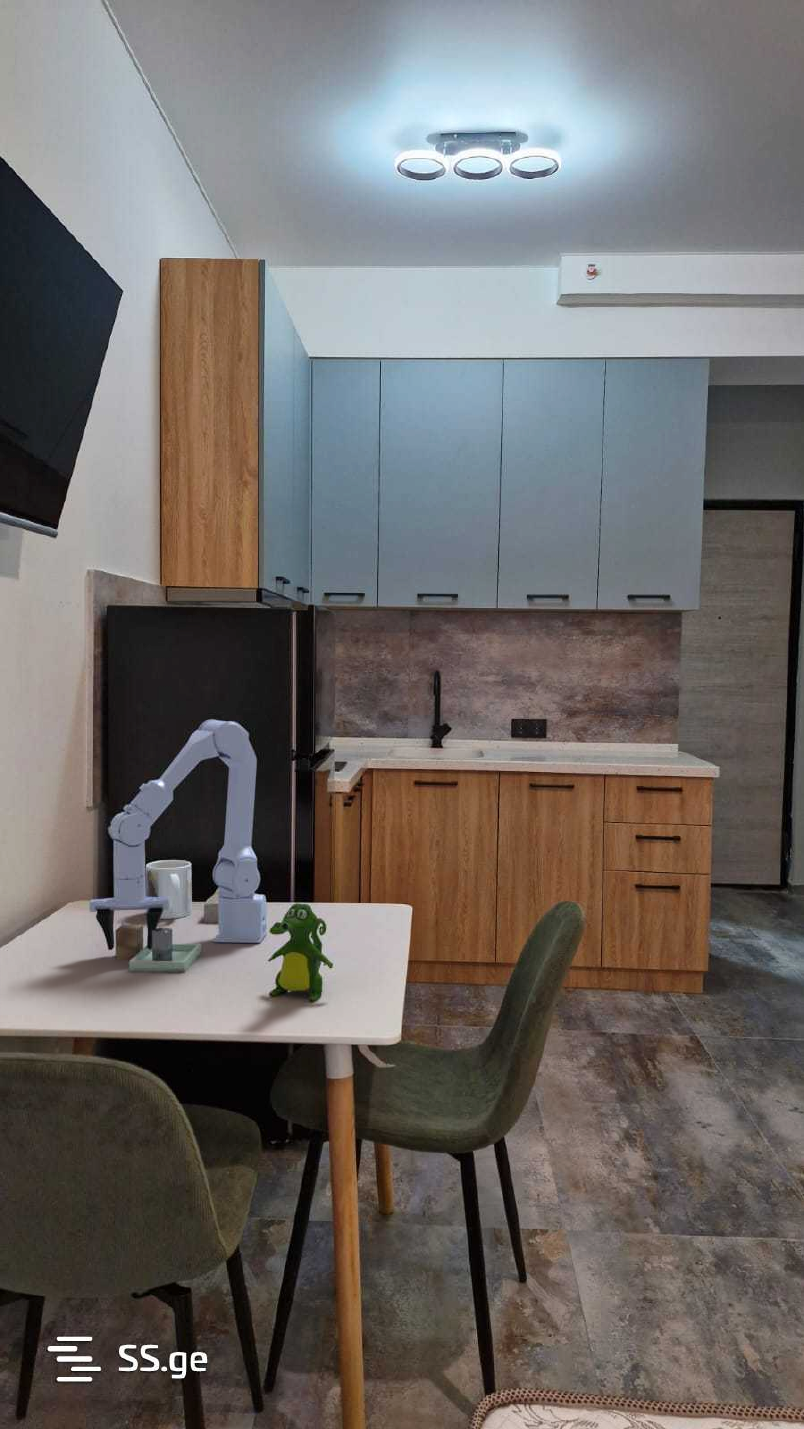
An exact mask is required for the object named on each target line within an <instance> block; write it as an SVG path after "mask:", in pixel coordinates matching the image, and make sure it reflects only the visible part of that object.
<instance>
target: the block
mask: <svg viewBox="0 0 804 1429" xmlns="http://www.w3.org/2000/svg"><path fill="white" fill-rule="evenodd" d="M114 935H115V960H131V959H133V958H134V957H135V956H136V955H137V954H138V953H139V952H140V951H141V950H142V949H143V948H144V924H121V925H120V926H119V927H117V928H116V929H115V932H114Z"/></svg>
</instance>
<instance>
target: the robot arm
mask: <svg viewBox="0 0 804 1429" xmlns="http://www.w3.org/2000/svg"><path fill="white" fill-rule="evenodd" d="M249 737H250V734H249V732H248V731H247V730H246V729H245V728H244V727H243V726H242V725H241V724H240V723H238V722H236V721H231V720H229V721H225V720H218V719H214V718H213V719H207V720H205V721H203V722H202V723H201V724H200V726H199V727H198V728H197V729H196V730H195V731H194V732H192V734H191V735H190V737H189V739H188V741H187V742H186V744H185V745H184V746H183V747H182V749H181V750H180V752H179V753H178V754H177V756H175V758H174V759H173V761H172V762H171V763H170V765H169V766H168V767H167V769H166V770H165V771H164V772H163V773H162V775H161V776H160V777H159V779H155V780H149V781H148V782H147V783H142V785H141V786H139V790H140V792H138V794H136V796H135V797H134V799H132V801H131V802H130V803H129V804H125V805H124V807H123V810H124V811H122V812H120V813H117V814H116V815H115V816H114V817H113V818H112V820H111V821H110V825H109V827H107V830H108V832H107V833H108V834H109V836H110V837H111V839H112V840H113V897H108V898H96V899H91V900H90V901H89V912H90V913H91V912H92V913H95V912H96V914H95V919H96V921H97V922H98V924H99V926H100V928H101V929H102V932H103V934H104V937H105V941H106V944H107V950H108V951H112V950H113V949H114V947H115V932H114V921H115V919H114V918H115V911H138V910H139V911H146V910H149V911H148V912H147V914H146V915H145V916H146V925H147V926H146V928H147V936H146V938H147V941H146V946H147V948H148V949H151V948H152V930H153V929H157V926H158V924H159V921H160V920H161V919H160V917H161V914H162V912H163V910H169V908H170V898H157V897H146V852H145V851H146V850H145V849H146V848H145V841H146V840H147V839H149V837H150V833H151V826H152V825H154V823H155V822H156V820H157V819H159V817H160V816H161V815H162V814H163V812H164V811H165V810H166V809H167V808H168V806H169V805H170V804H171V803H172V801H174V790H175V789H176V788H177V786H179V785H180V783H181V782H183V780H184V779H185V778H186V777H187V776H188V775H189V774H190V773H191V771H192V770H193V769H194V768H196V766H197V765H198V764H199V763H200V762H201V761H204V760H207V759H212V758H216V757H218V758H219V759H221V761H222V762H223V763H224V764H225V765H226V766H227V767H228V782H227V783H228V784H227V799H226V812H225V813H226V814H225V828H224V842H223V843H224V844H223V846H222V848H221V849H220V850H219V851H218V857H217V860H216V863H215V866H214V867H213V870H212V878H213V879H212V880H213V881H214V883H215V884H216V885H217V886H218V888H219V891H218V922H217V923H218V932H217V935H216V936H215V937H214V938H213V939H212V942H213V943H242V944H243V943H253V944H255V943H256V944H258V943H261V942H262V941H263V940H264V938H265V936H266V935H267V933H268V931H267V898H266V895H265V894H258V893H255V892H256V891H257V890H258V889H259V886H260V882H261V876H260V875H261V873H260V871H259V870H258V858H257V856H256V853H255V852H254V850H253V848H252V839H253V822H254V808H255V796H256V794H255V793H256V792H255V791H256V780H257V779H256V777H257V764H258V763H257V762H258V760H257V756H256V754H255V751H254V749H253V746H252V744H251V742H250V739H249Z"/></svg>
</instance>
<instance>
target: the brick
mask: <svg viewBox="0 0 804 1429" xmlns="http://www.w3.org/2000/svg"><path fill="white" fill-rule="evenodd" d="M218 891H219V887H218V888H217V889H216V891H215V892H214V894H212V896H210V897H209V898H207V900H206V901H205V902H204V904H203V905H204V906H203V921H204V923H214V924H215V923H218Z"/></svg>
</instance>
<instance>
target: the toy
mask: <svg viewBox="0 0 804 1429" xmlns="http://www.w3.org/2000/svg"><path fill="white" fill-rule="evenodd" d="M324 920H325V919H322V918H320V917H319V918H318V917H317V914H315V913H314V912H313V910H312V908H311V906H310V905H309V904H306V903H299V902H298V903H294V904H293V905H291V906H290V908H288V910H287V912H286V913H285V914H284V917H283V918H282V920H281V922H278V921H277V922H275V923H274V924H273V925H272V926H271V928H269V934H272V935H275V936H277V935H283V934H285V933H286V932H288V933H289V936H290V938H289V940H288V941H286V943H285V944H283V945H282V946H281V947H280V948H279V949H278V950H277V951H275V952H274V953H272V955H271V956H270V957H269V959H268V960H267V961H268V962H271V961H273V960H275V959H277V958H279V957H280V956H283V959H282V964H281V968H280V969H281V970H279V971H278V972H277V974H276V977H275V982H274V984H275V988H274V989H272V990H270V991H269V993H268V995H269V996H270V997H276V996H277V995H279V994H282V993H283V992H285V991H289V992H294V993H300V992H306V991H310V992H311V993H310V996H309V997H308V1001H309V1002H315V1001H316V1000H317V999H318V998H319V997H320V996H321V995H322V994H323V977H322V975H321V974H320V972H319V970H320V967H321V965H322V963H323V966H326V965H327V967H328V968H329V970H331V969H332V968H334V967H333V966H334V964H333V962H331V961H330V960H329V959H328V957H327V956H326V955H325V954H323V953H322V952H323V951H322V949H323V943H322V941H321V939H320V936H323V935H325V933H326V932H327V924H326V923H327V922H325V921H324ZM320 925H321V926H320ZM318 933H319V935H320V936H319V935H318ZM311 939H312V940H311Z"/></svg>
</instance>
